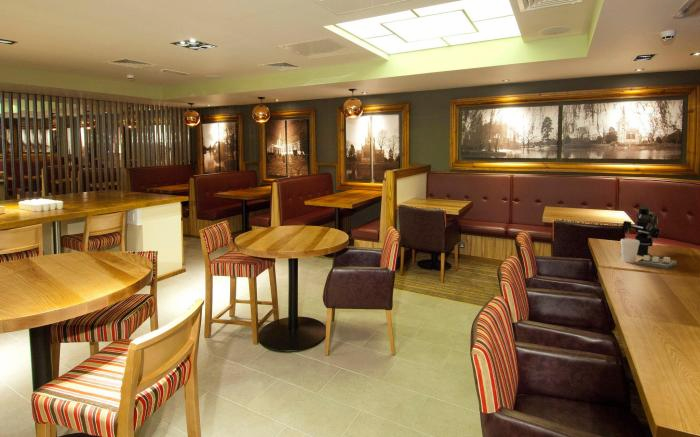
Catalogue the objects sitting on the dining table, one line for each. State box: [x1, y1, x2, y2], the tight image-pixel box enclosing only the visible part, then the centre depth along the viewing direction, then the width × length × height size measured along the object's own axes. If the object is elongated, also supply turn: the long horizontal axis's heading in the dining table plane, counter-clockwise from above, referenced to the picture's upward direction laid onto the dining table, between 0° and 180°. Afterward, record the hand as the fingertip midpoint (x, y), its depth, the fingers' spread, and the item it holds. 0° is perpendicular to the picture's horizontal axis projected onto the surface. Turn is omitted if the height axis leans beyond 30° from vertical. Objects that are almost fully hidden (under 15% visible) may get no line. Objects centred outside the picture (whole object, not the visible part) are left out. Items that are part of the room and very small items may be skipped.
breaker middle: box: [652, 255, 660, 262], centre depth 249 cm, size 2×3×3 cm
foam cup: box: [620, 238, 640, 264], centre depth 258 cm, size 10×9×13 cm
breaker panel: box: [637, 256, 678, 270], centre depth 251 cm, size 16×15×2 cm
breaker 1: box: [642, 255, 651, 261], centre depth 252 cm, size 2×3×3 cm
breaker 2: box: [662, 256, 671, 263], centre depth 247 cm, size 2×3×3 cm
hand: (638, 235), depth 254 cm, fingers open, 9 cm apart
